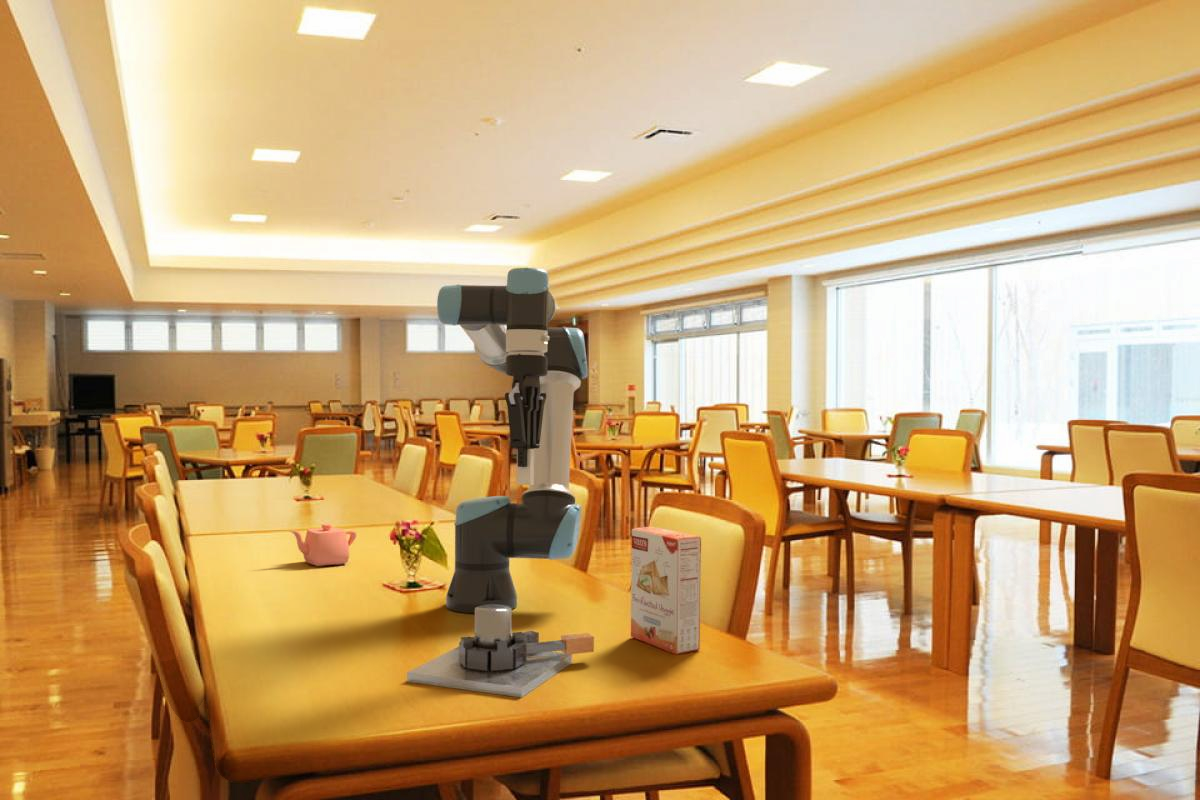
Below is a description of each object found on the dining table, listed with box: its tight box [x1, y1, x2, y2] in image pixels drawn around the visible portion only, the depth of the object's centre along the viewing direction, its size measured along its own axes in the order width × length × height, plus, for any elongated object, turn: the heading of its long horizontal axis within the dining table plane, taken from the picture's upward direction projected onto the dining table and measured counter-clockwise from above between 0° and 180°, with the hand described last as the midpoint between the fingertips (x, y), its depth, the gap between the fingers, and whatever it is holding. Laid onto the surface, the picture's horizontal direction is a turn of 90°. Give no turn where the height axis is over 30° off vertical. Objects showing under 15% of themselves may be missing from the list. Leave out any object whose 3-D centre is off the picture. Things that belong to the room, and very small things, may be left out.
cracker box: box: [630, 526, 702, 655], centre depth 176 cm, size 14×6×21 cm, turn 34°
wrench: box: [458, 631, 595, 671], centre depth 160 cm, size 23×10×4 cm, turn 113°
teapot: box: [289, 523, 358, 567], centre depth 252 cm, size 12×18×10 cm, turn 124°
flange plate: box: [406, 604, 573, 698], centre depth 158 cm, size 20×20×10 cm
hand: (525, 484), depth 173 cm, fingers closed
